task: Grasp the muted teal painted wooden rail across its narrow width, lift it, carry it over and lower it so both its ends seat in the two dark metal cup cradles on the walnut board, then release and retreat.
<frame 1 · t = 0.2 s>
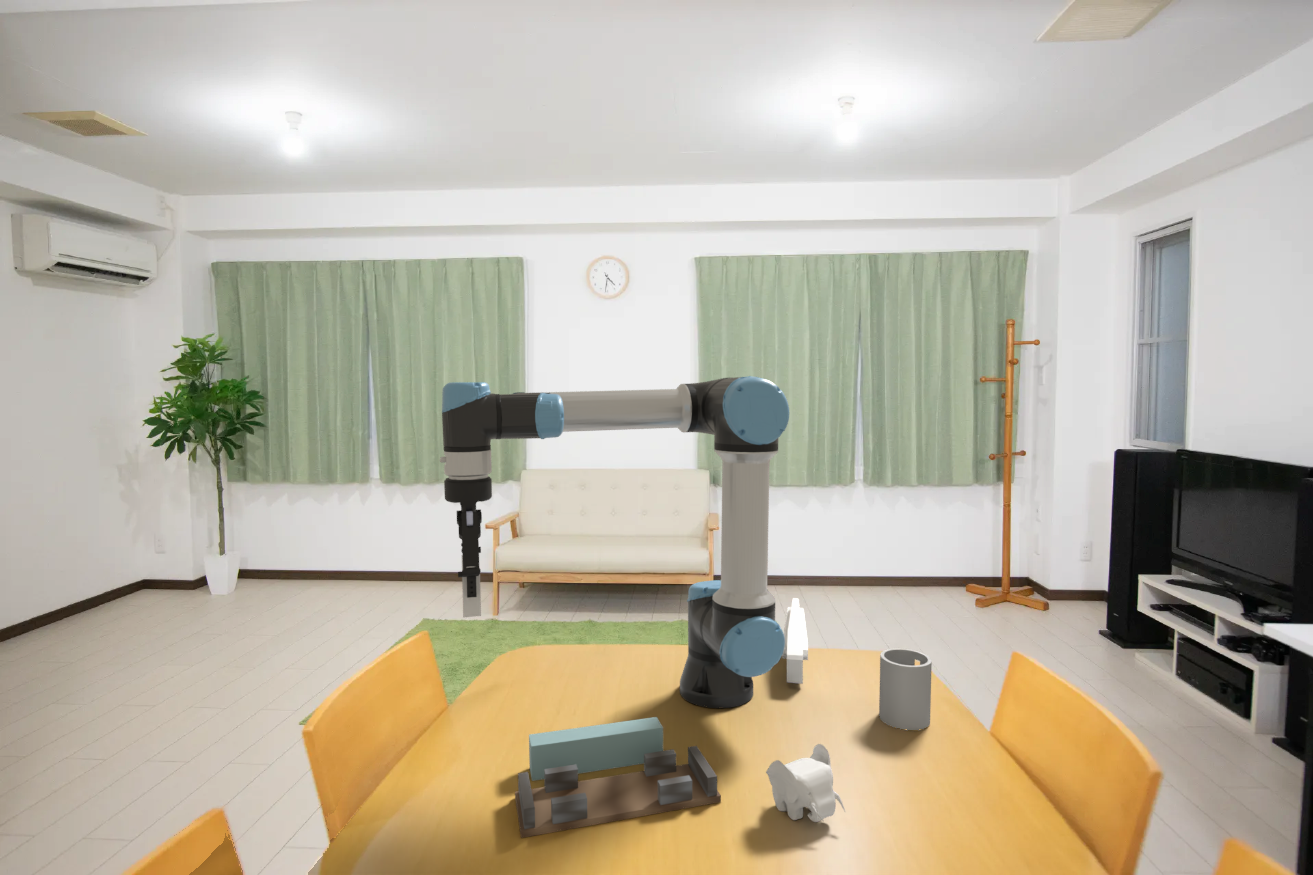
hand: (471, 603, 117), 27 cm above the table, fingers open, 13 cm apart
rail: (597, 765, 118), on the table
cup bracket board: (617, 799, 107), on the table
shelf bracket: (795, 666, 159), on the table
cup: (904, 719, 133), on the table
elephant figurine: (804, 813, 104), on the table
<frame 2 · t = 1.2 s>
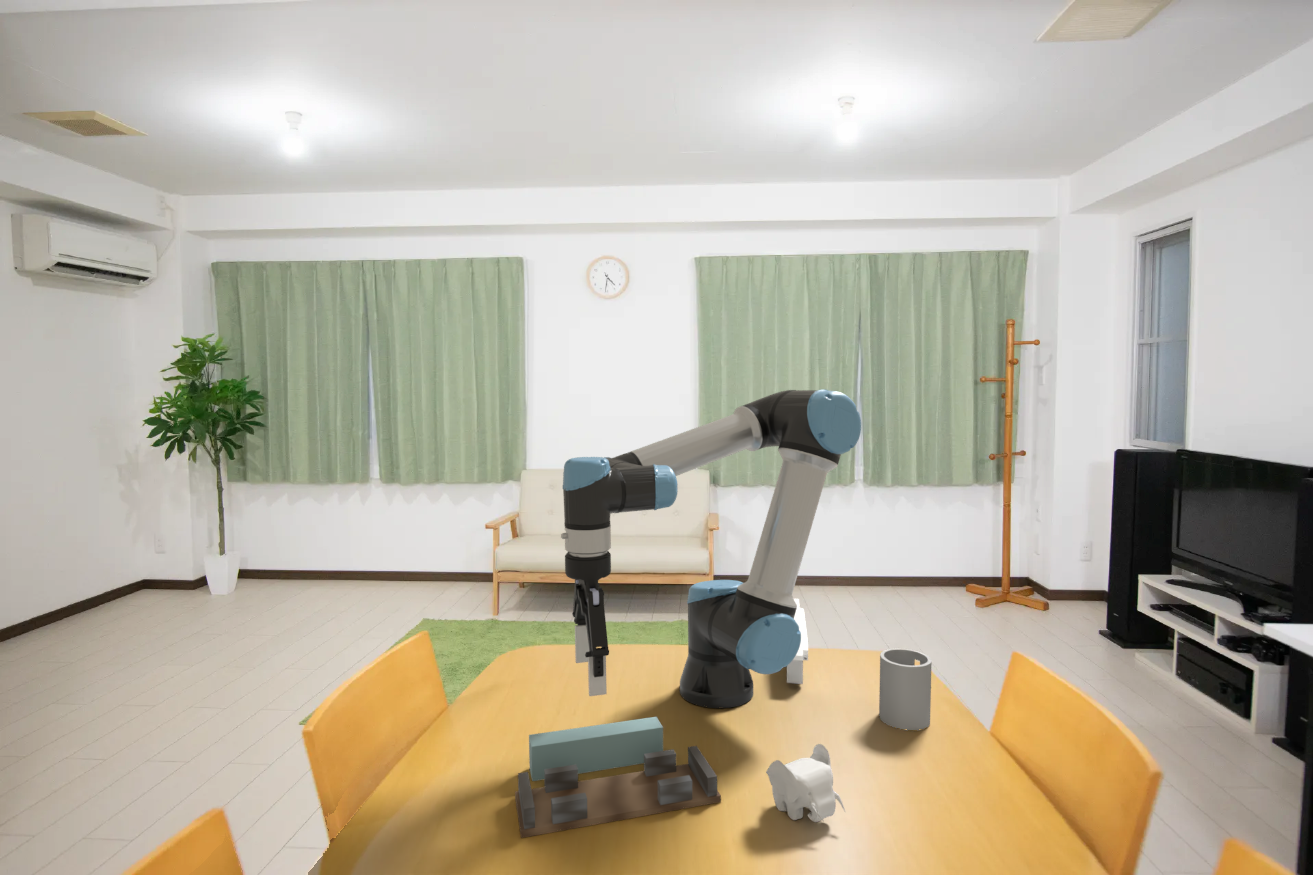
hand: (590, 677, 117), 15 cm above the table, fingers open, 13 cm apart
nothing on the table moved.
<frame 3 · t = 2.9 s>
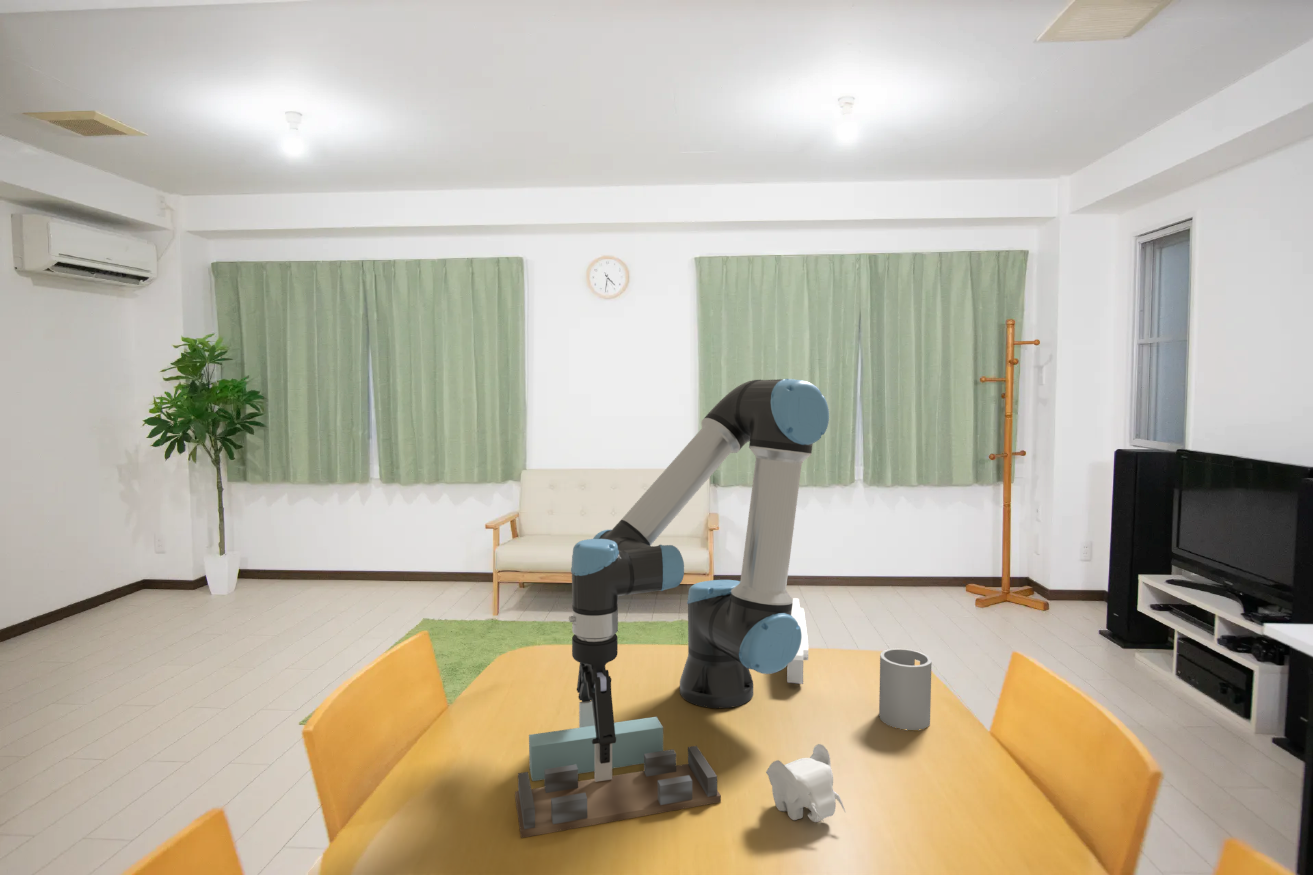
hand: (594, 758, 118), 1 cm above the table, fingers open, 13 cm apart
nothing on the table moved.
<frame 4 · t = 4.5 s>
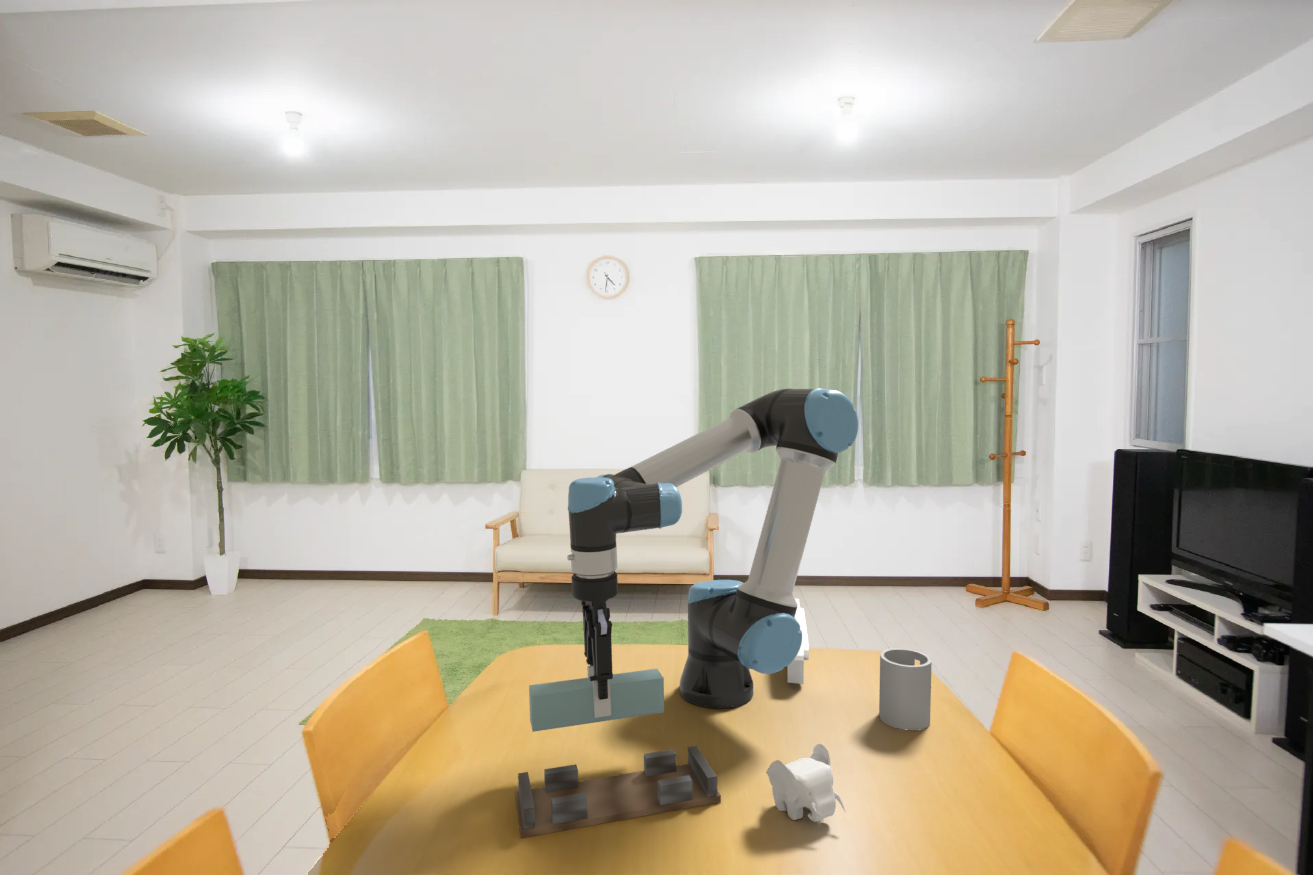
hand: (599, 708, 117), 9 cm above the table, fingers closed on rail, 4 cm apart
rail: (597, 716, 117), point 8 cm above the table, touching gripper
everything else where it was.
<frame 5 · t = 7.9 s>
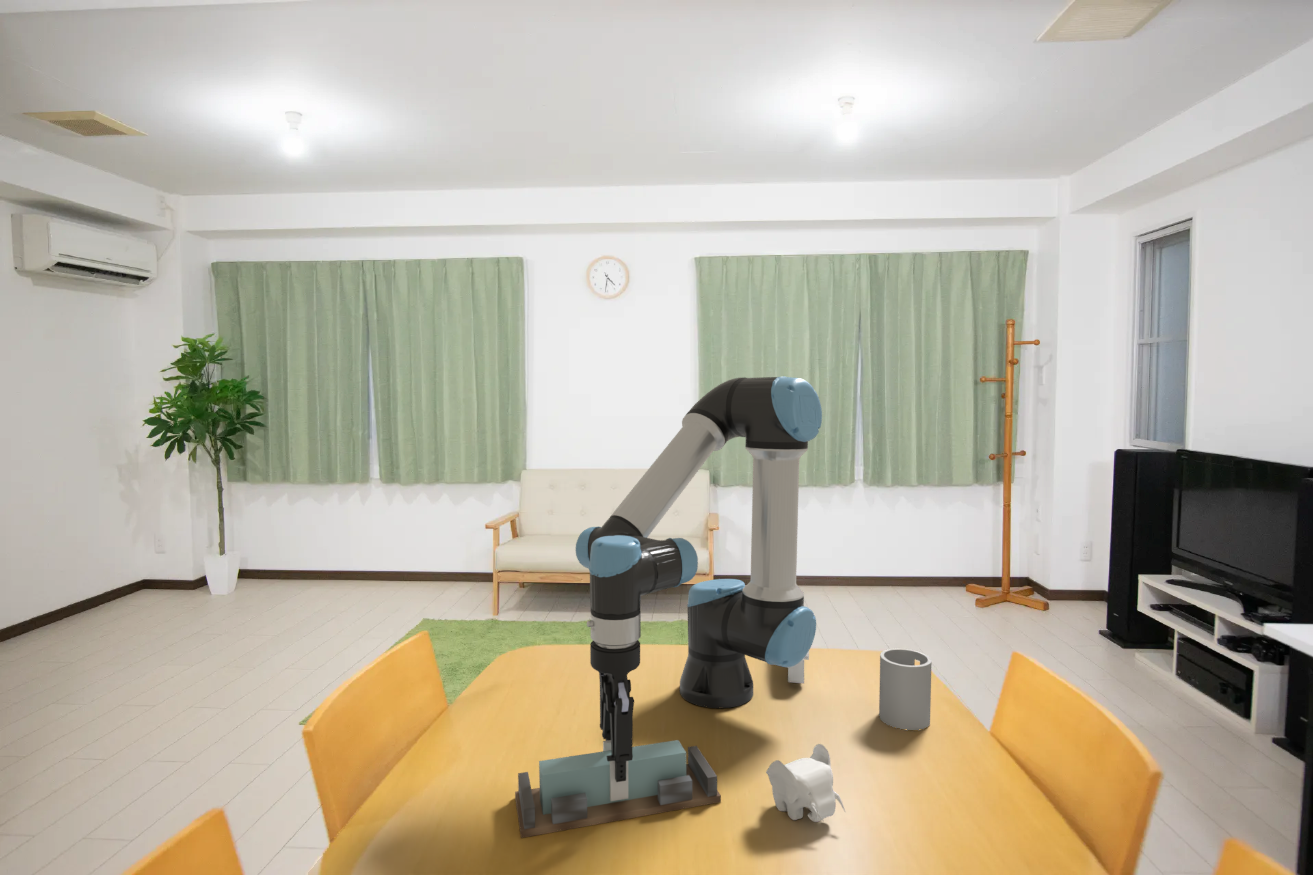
hand: (615, 789, 107), 2 cm above the table, fingers closed on rail, 4 cm apart
rail: (613, 794, 107), point 1 cm above the table, touching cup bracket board, gripper
everything else where it was.
when the fingers open (1 cm above the table, at t = 8.6 s): rail stays where it is, resting on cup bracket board.
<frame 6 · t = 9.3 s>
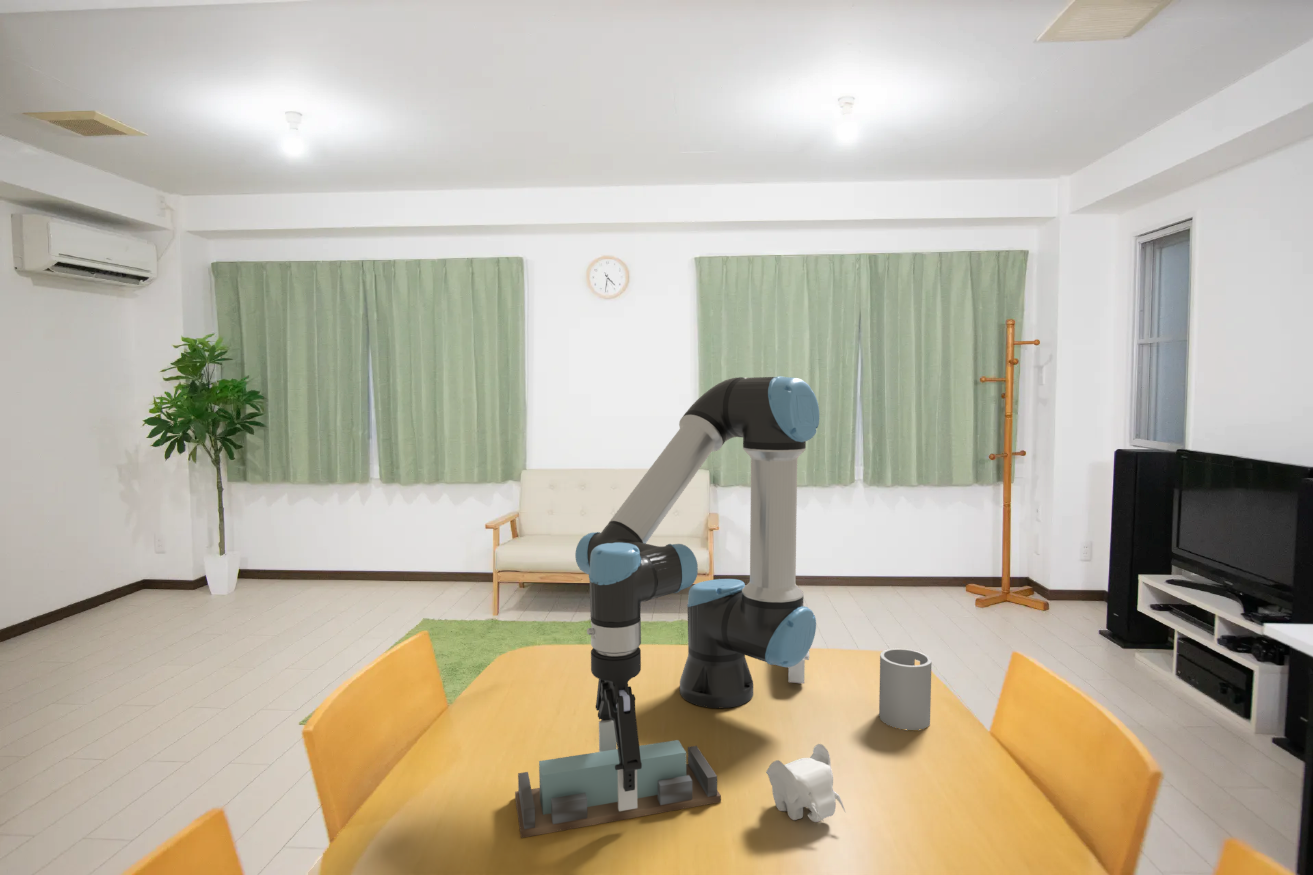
hand: (617, 782, 107), 3 cm above the table, fingers open, 13 cm apart
rail: (613, 794, 107), point 1 cm above the table, touching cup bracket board
everything else where it was.
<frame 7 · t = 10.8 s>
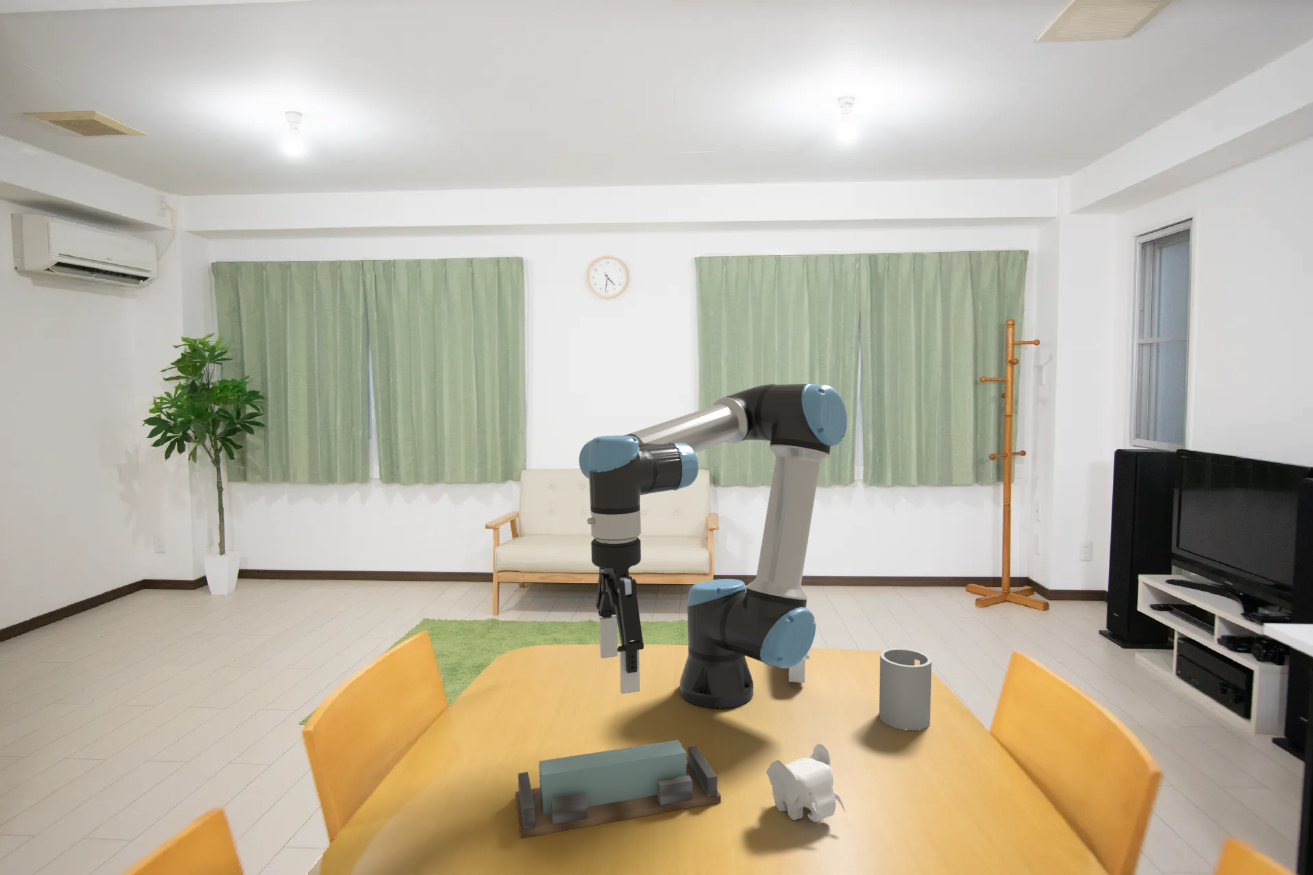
hand: (619, 673, 108), 19 cm above the table, fingers open, 13 cm apart
nothing on the table moved.
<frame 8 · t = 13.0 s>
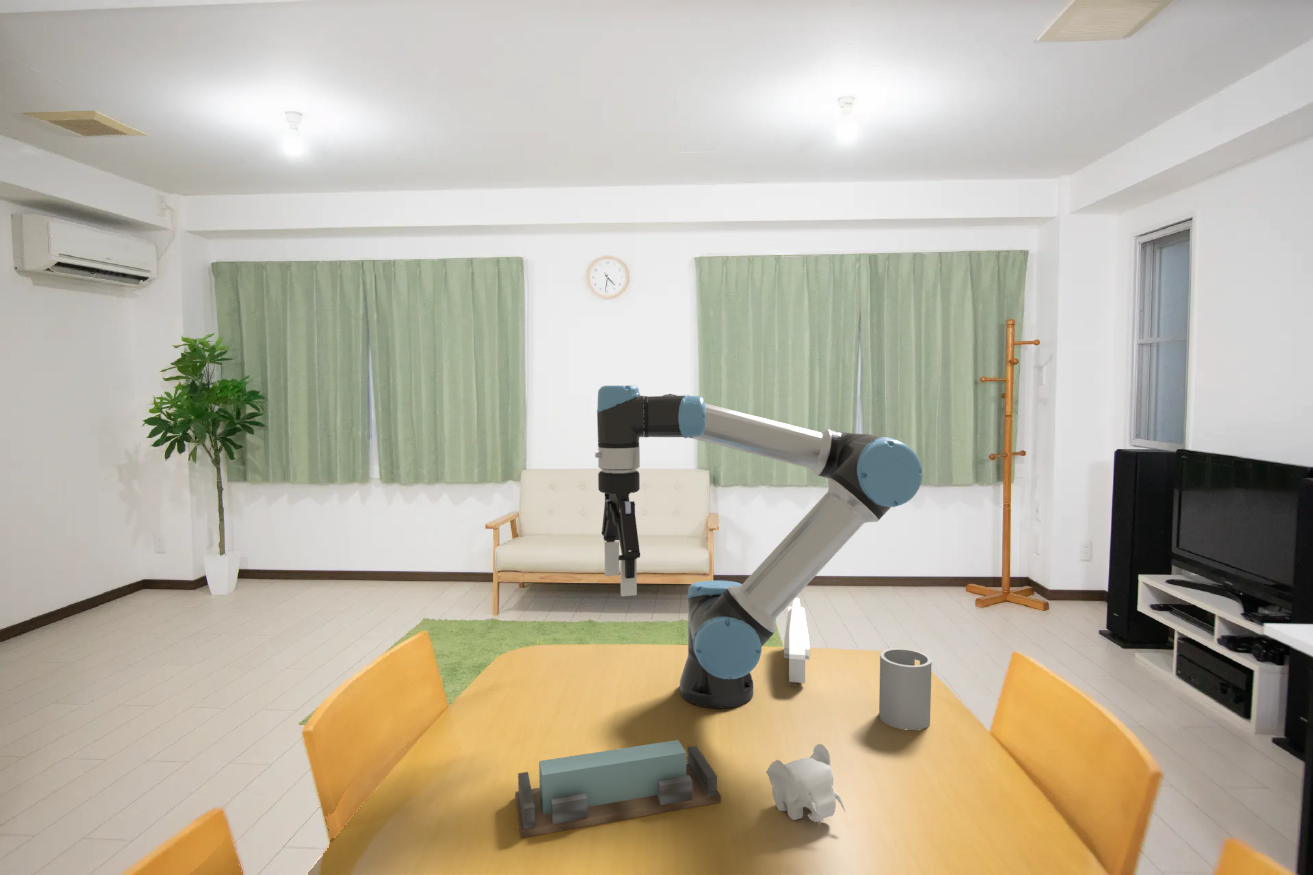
hand: (620, 584, 129), 27 cm above the table, fingers open, 13 cm apart
nothing on the table moved.
at the end: rail 0.6 cm off-centre on the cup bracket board, point 1.0 cm above the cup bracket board's base; rail tilted 0°; the gripper is holding nothing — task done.
